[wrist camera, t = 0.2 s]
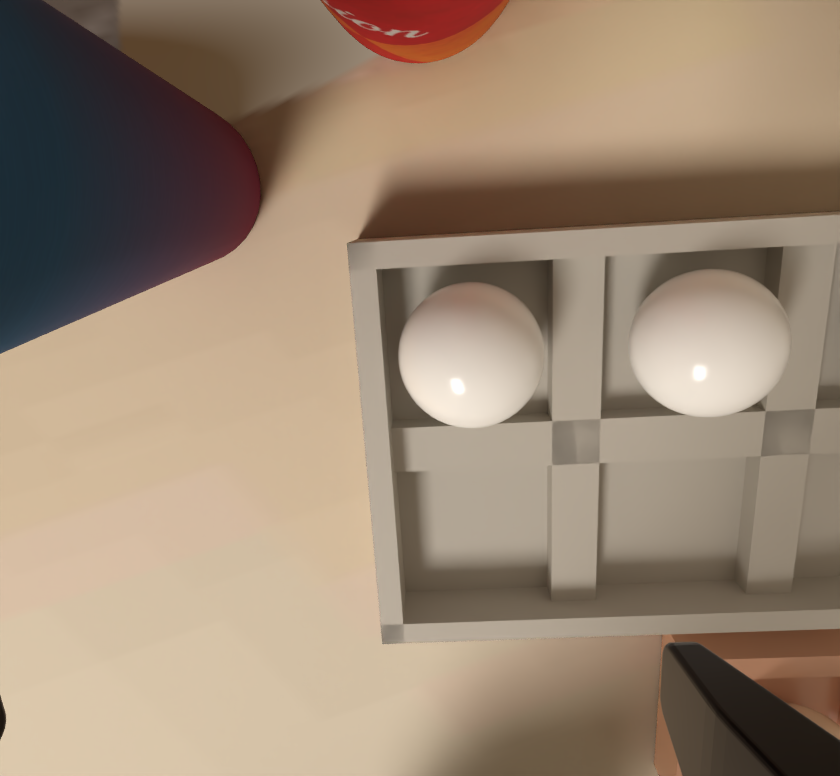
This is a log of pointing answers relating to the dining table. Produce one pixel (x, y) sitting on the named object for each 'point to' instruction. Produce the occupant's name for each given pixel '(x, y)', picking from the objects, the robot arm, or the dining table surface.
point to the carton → (604, 446)
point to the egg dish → (768, 673)
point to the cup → (103, 176)
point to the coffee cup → (416, 25)
